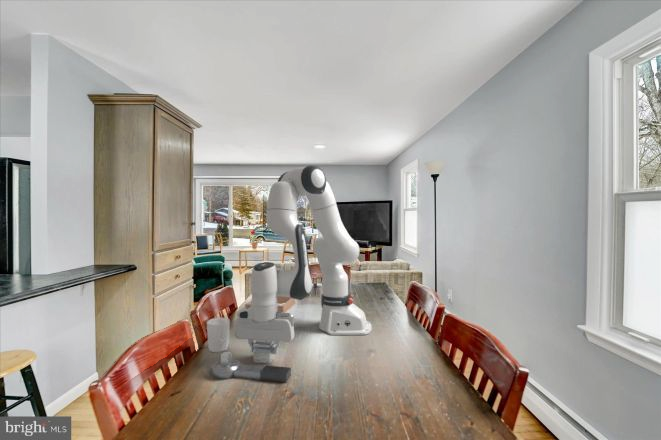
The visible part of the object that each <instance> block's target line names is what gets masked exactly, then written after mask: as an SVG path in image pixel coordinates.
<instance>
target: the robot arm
mask: <svg viewBox="0 0 661 440" xmlns="http://www.w3.org/2000/svg"><path fill="white" fill-rule="evenodd" d="M299 197H306V198H307V200H308V204H309V205H308V206H309V209H310V212H311V215H312V219H313V222H314V226H315V228H316V230H318V231H319V234H321V235H322V236H320V237H318V238H316V239H315V240H314V241H313V244H312V251H313V254H314V255H315V257H316V259H317V261H318V265H319V268H320V272H321V280H322V294H321V297H320V298H321V299H320V300H321V301H320V303H321V304H320V305H321V316H320V322H319V326H318V328H319V330H320V331H323V332H325V333H327V334H328V335H331V336H345V335H346V336H348V335H349V336H354V335H355V336H357V335H358V336H360V335H361V336H364V335H368V334H369V333H371V331H372V328H373V327H372V323H371V322H370V321H368V320H367V317H366V313H365V312H364V310H362V309H361V308H360V307H359V306H357V305H356V304H354V303H353V302H354V296H353V294H349V276H348V274H347V272H346V271H345V269H344V267H343V265H346V264H347V265H348V264H352V263H355V262H356V261H357V259H358V258H359V256H360V245H359V244H358V243H357V242H356V240H355V239H354V238H352V237H351V235H350V234H349V232H348V231H347V229H346V227H345V226H344V223H343V221H342V219H341V215H340V212H339V208H338V205H337V200H336V197H335V194H334V192H333V189H332V187H331V186H330V183H329V182H328V181H327V177H326V174H325V173H324V171H323V169H322V168H321V167H320V166H318V165H307V166H301V167H296V168H294V169H291V170H290V171H286V172H284V173H282V174H281V175H280V176H279V178H278V179H277V181H276V182H275V183H273V184H272V185H271V187H270V189H269V194H268V198H267V206H266V213H265V214H266V215H265V216H266V225H267V227H268V228H269V230H270V232H273V233H274V234H275V235H277V236H279V237H281V238H283V239H285V240H286V241H288V242H289V243H290V244H291V247H292V250H293V258H294V259H293V260H294V269H283V268H282V269H281V268H278V267H276V264H275V263H274V262H270V261H265V262H260V263H257V264H255V265H254V266H253V267H252V268H251V274H250V275H251V276H250V293H251V300H250V301H251V306H248V307H245V306H244V307H243V308H241V309H240V310H238V311H237V312H236V318H237V319H236V320H235V323H234V336H235V338H236V339H239V340H247V343H248V344H249V346H250V348H251V350H250V352H251V353H254V349H253V344H254V343H255V342H254V341H257V340H263V341H275V344H276V347H273V349H272V354H276V355H277V354H278V353H279V347H280V345H281V344H282V343H291V342H292V341H293V339H294V338H295V327H294V325H295V318H294V316H293V315H292V314H290V313H289V312H286V313H279V312H278V305H279V303H278V301H277V297H276V296H279V297H289V298H293V299H295V300H299V301H302V300H305V298H307V297H308V296H309V295H310V294H311V293H312V291H313V278H312V274H311V270H310V262H309V261H310V260H309V251H308V244H307V242H308V241H307V236H306V232H305V228H304V227H303V225H301V224H300V222H299V219H298V199H299Z"/></svg>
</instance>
